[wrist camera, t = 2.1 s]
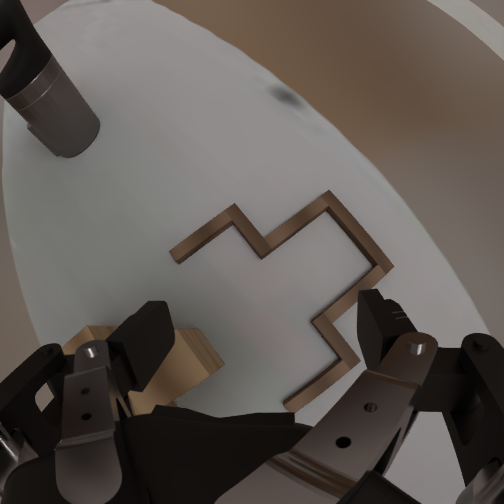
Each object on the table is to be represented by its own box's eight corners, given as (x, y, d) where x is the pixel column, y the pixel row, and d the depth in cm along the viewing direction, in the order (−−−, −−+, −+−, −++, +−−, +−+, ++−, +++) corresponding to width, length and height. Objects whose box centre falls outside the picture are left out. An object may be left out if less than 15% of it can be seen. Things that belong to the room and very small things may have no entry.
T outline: (290, 411, 29) (291, 415, 27) (173, 254, 34) (168, 251, 33) (415, 303, 31) (420, 302, 29) (298, 164, 36) (299, 158, 35)
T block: (169, 451, 28) (145, 478, 20) (97, 347, 32) (59, 349, 24) (254, 401, 29) (249, 424, 22) (172, 290, 33) (144, 278, 25)
